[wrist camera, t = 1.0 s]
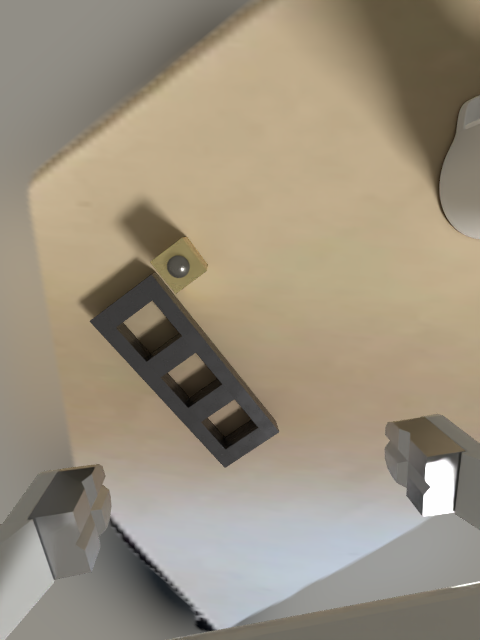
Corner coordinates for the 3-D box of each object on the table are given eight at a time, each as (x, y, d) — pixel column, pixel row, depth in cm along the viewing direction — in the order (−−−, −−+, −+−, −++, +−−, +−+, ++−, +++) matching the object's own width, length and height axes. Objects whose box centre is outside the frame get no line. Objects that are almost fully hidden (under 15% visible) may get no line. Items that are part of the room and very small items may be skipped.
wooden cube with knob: (186, 236, 36) (181, 237, 30) (207, 264, 37) (206, 271, 31) (159, 257, 37) (149, 262, 31) (181, 284, 38) (175, 294, 32)
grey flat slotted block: (155, 271, 37) (151, 274, 35) (275, 421, 44) (279, 431, 42) (97, 315, 38) (89, 321, 36) (224, 455, 45) (225, 467, 43)
